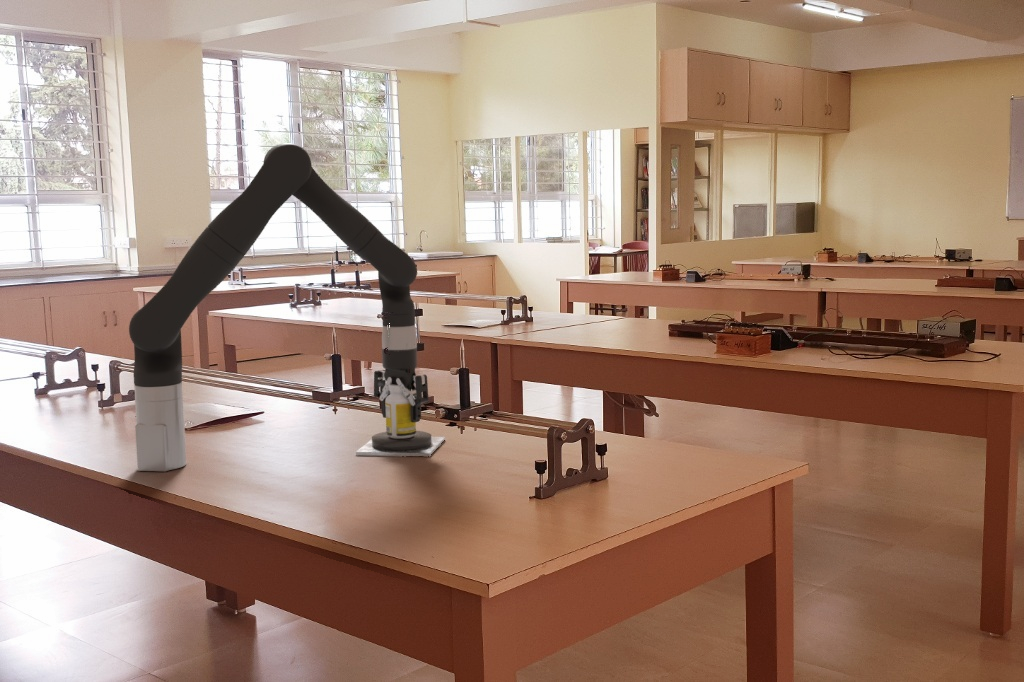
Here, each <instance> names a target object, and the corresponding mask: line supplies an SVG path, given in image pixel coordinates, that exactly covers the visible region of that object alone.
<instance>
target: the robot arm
mask: <svg viewBox="0 0 1024 682" xmlns="http://www.w3.org/2000/svg"><path fill="white" fill-rule="evenodd" d="M251 180H252V181H251V182H250V183H249V184H248V185H247V187H246V188H245V189H244V191H242V193H240V195H238V196H237V197H236V198H235V199H234V200H233V201H231V202H230V203H229V204H228V205H227V206H226V207H225V208H224V209H222V211H220V212H219V214H218V215H216V216H215V217H214V218H213V220H211V222H210V223H209V224H208V225H207V226H206V227H205V229H204V230H203V231H202V232H201V233H200V235H199V236H198V237H197V238H196V240H195V241H194V243H193V244H192V245H191V246H190V248H189V249H188V250H187V252H186V253H185V255H184V256H183V257H182V259H181V261H180V262H179V264H178V265H177V267H176V268H175V270H174V272H173V274H172V275H171V276H170V278H169V279H168V280H167V282H166V283H165V284H164V285H163V286H162V288H160V289H159V290H158V291H157V292H156V294H155V295H154V296H153V297H152V298H150V300H149V301H148V302H147V303H145V304H144V305H143V306H142V307H141V308H140V309H138V310H137V311H136V312H135V313H134V314H133V315H132V317H131V319H130V321H129V325H128V335H129V338H130V339H131V342H132V343H133V348H134V349H133V351H134V354H133V355H134V362H133V363H134V365H133V388H134V404H135V405H134V406H135V422H136V423H135V425H134V426H135V427H134V428H135V444H136V446H135V448H136V459H137V460H136V462H137V471H139V472H141V471H142V472H167V471H168V472H169V471H170V470H176V469H179V468H182V467H184V466H186V465H187V452H186V451H187V449H186V431H185V430H186V429H185V413H184V410H185V409H184V394H183V393H184V392H183V391H184V390H183V348H182V347H183V346H182V328H183V327H184V325H185V324H186V322H187V321H188V319H189V317H190V316H191V314H192V313H193V312H194V311H195V309H196V308H197V307H198V305H200V303H201V302H202V301H203V300H204V299H206V297H207V296H208V295H209V294H210V293H211V292H212V291H214V290H215V289H216V288H217V287H218V286H219V285H220V284H221V283H222V282H224V280H225V279H226V278H227V277H228V276H229V275H230V274H231V273H232V271H233V270H235V268H236V267H237V266H238V265H239V263H240V262H241V261H242V259H243V258H244V257H245V256H246V255H247V253H248V252H249V251H250V249H251V248H252V246H254V244H255V242H256V241H257V239H258V238H259V237H260V235H261V234H262V233H263V231H264V230H265V228H266V227H267V226H268V223H269V221H271V219H272V218H273V216H274V215H275V214H276V212H277V211H278V210H279V209H280V208H281V207H282V206H283V205H284V204H285V203H286V202H287V201H288V200H289V199H290V198H291V196H293V197H294V198H295V199H298V201H299V202H301V203H302V204H303V205H305V206H306V207H307V208H308V209H309V210H310V211H312V212H313V213H314V214H315V215H316V216H317V217H318V218H319V220H321V221H322V222H323V223H324V224H325V225H326V226H327V227H328V228H329V230H331V231H332V232H333V234H334V235H336V236H337V237H338V239H340V240H341V241H342V242H343V243H344V244H345V245H346V246H347V247H348V248H349V249H350V250H351V251H352V252H353V253H354V254H355V255H357V256H358V257H359V258H361V259H362V260H364V261H366V262H368V263H369V264H370V265H371V266H372V267H374V269H375V270H376V271H377V272H378V273H377V274H378V275H377V277H378V286H379V292H380V298H381V302H382V303H381V305H382V308H381V309H382V310H381V311H382V314H383V313H385V312H388V313H389V312H393V313H391V315H390V316H389V319H388V318H387V320H386V319H385V318H384V317H386V316H383V317H382V316H381V317H382V332H381V353H382V354H381V357H382V363H381V364H382V367H383V369H379V370H375V371H374V373H373V396H374V398H378V399H379V401H381V415H382V418H384V419H386V406H385V400H386V398H387V396H389V395H390V391H389V385H391V384H394V385H398V386H399V387H400V388H401V390H402V392H403V393H404V395H405V397H407V398H408V399H409V401H410V403H411V422H414V423H415V422H416V423H418V422H420V421H421V418H422V404H424V403H427V402H429V387H428V384H429V383H428V376H427V374H421V375H417V373H416V369H417V366H418V343H417V342H418V341H417V339H418V337H417V331H416V330H417V329H416V311H415V310H416V309H415V303H414V300H413V299H412V297H411V288H410V285H412V284H413V283H414V282H415V280H416V279H417V275H418V269H417V268H418V267H417V265H416V262H415V261H414V260H413V258H412V257H411V256H409V254H407V252H405V251H404V250H403V249H401V248H400V247H399V246H398V245H397V244H395V243H394V242H393V241H391V240H390V239H388V238H387V237H386V236H385V235H384V233H382V232H381V231H380V229H379V228H378V227H376V226H375V225H374V224H373V223H372V222H371V221H370V220H369V219H368V218H367V217H366V216H365V215H363V213H361V212H360V211H359V210H358V209H357V208H355V207H354V206H353V205H352V204H350V203H349V201H347V200H346V199H345V198H343V197H341V195H339V194H338V193H337V192H336V191H335V190H333V189H332V188H331V187H330V186H329V185H328V183H326V181H324V179H322V178H321V176H320V175H319V174H318V172H317V171H316V170H315V169H314V167H313V166H312V159H311V157H310V154H309V153H308V152H307V150H306V149H304V148H303V147H302V146H300V145H298V144H296V143H289V142H284V143H279V144H276V145H274V146H272V147H271V148H270V149H269V150H268V151H267V152H266V153H265V156H264V159H263V164H262V165H261V167H260V168H259V170H258V172H257V173H256V174H255V176H254V177H253V179H251ZM385 314H387V313H385ZM385 314H384V315H385ZM389 323H390V324H389ZM387 325H388V327H389V325H390V335H388V330H387ZM388 336H389V337H388ZM386 347H388V348H387V349H388V352H386V353H387V354H385V353H384V349H385V348H386ZM387 349H386V350H387ZM389 354H390V355H389ZM409 367H410V373H409ZM413 396H414V397H413ZM414 398H415V399H414Z"/></svg>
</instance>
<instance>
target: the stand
mask: <svg viewBox="0 0 1024 682" xmlns="http://www.w3.org/2000/svg"><path fill="white" fill-rule="evenodd" d="M444 440H445V441H446V437H445V436H432V433H429V432H427V431H421V430H416V434H415V436H413V437H411V438H405V439H394V438H390V437H388V436H387V433H386V431H383V432H379V433H375V434H374V435H373V436H371V439H370V440H369V441H367V442H366V443H365V444H363V445H362V446H361V447H360V448H358V449H357V450H355V456H363V457H365V456H367V457H371V456H373V457H402V456H404V458H405V457H406V456H429V457H428V458H430V457H432V455H433V454H434V453H435V452H436V451H437V450H438V449H439V448H440V446H442V444H443V443H444V442H445V441H444ZM443 441H444V442H443ZM442 442H443V443H442ZM441 443H442V444H441ZM438 447H439V448H438ZM437 448H438V449H437ZM436 449H437V450H436ZM435 450H436V451H435ZM434 451H435V452H434ZM433 452H434V453H433ZM432 453H433V454H432ZM431 454H432V455H431ZM406 458H407V457H406Z"/></svg>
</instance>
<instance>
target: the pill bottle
mask: <svg viewBox="0 0 1024 682" xmlns="http://www.w3.org/2000/svg"><path fill="white" fill-rule="evenodd" d="M389 391H390V395H389V396H387V398H386V400H385V406H386V418H385V427H386V428H385V430H386V431H385V432H386V433H387V436H388V437H390V438H394V439H405V438H411V437H413V436H415V434H416V431H417V422H415V423H414V422H411V403H410V401H409V399H408V398H407V397H405V395H404V393H403V392H402V390H401V388H400V387H399V386H398V385H394V384H391V385H389ZM413 397H414V396H413ZM414 399H415V398H414Z"/></svg>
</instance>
